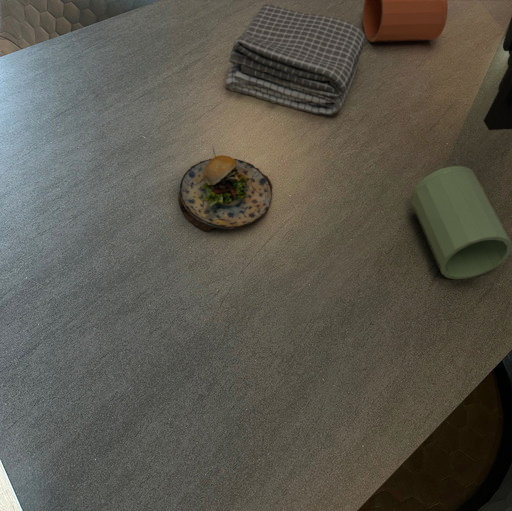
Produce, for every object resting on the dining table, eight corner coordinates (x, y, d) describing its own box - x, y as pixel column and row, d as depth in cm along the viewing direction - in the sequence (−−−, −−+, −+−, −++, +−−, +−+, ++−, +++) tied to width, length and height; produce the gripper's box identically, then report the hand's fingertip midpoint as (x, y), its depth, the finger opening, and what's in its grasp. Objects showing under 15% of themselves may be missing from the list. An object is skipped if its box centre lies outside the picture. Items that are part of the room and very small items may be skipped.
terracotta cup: (434, -26, 103) (371, -25, 100) (453, 4, 98) (387, 5, 96) (418, 20, 109) (358, 21, 107) (435, 50, 105) (373, 52, 102)
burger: (205, 249, 75) (208, 208, 69) (162, 182, 80) (161, 139, 74) (289, 216, 79) (299, 175, 74) (243, 155, 85) (248, 112, 79)
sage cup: (486, 163, 77) (524, 234, 71) (461, 208, 84) (493, 276, 77) (423, 167, 75) (456, 239, 69) (402, 212, 82) (431, 282, 76)
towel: (338, 124, 91) (350, 79, 85) (219, 88, 93) (223, 42, 86) (360, 65, 100) (372, 21, 94) (251, 33, 102) (256, -12, 95)
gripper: (541, -146, 51) (444, 86, 70) (622, -64, 44) (489, 171, 63) (621, -143, 53) (504, 84, 72) (713, -63, 45) (555, 166, 64)
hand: (497, 124), depth 67 cm, fingers closed
